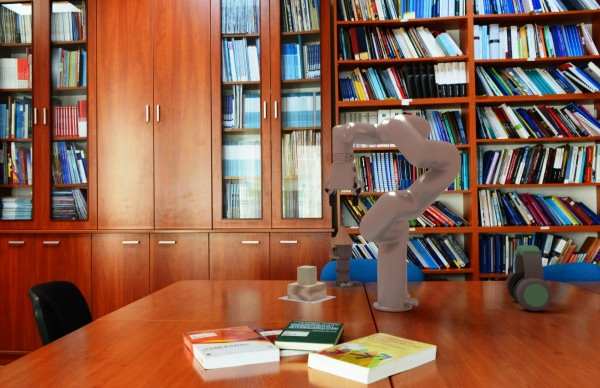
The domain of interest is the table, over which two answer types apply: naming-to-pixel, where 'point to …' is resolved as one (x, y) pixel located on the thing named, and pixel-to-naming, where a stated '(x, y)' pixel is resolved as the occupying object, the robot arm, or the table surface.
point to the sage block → (307, 275)
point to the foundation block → (306, 291)
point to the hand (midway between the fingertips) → (343, 206)
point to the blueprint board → (308, 301)
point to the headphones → (529, 280)
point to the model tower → (341, 255)
